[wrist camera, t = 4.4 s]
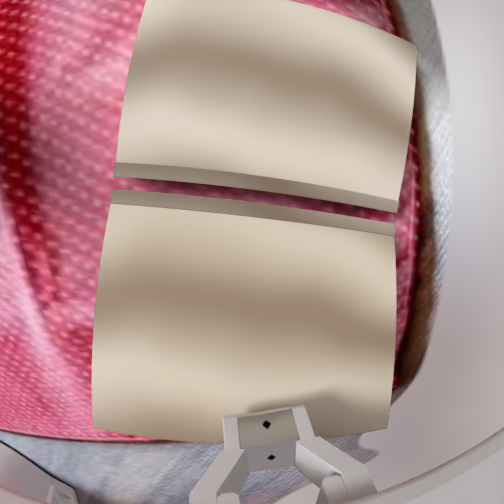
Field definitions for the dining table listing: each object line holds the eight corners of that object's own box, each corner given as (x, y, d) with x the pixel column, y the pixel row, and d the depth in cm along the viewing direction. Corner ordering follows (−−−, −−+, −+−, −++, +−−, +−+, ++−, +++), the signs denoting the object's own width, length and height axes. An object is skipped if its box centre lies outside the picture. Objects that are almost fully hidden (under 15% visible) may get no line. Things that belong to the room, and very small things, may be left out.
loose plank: (370, 420, 13) (388, 428, 12) (103, 417, 11) (92, 428, 9) (376, 232, 16) (394, 223, 14) (121, 202, 13) (113, 188, 12)
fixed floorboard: (379, 205, 15) (396, 213, 14) (125, 172, 13) (113, 176, 12) (399, 52, 13) (418, 45, 11) (156, 1, 10) (150, -15, 9)
